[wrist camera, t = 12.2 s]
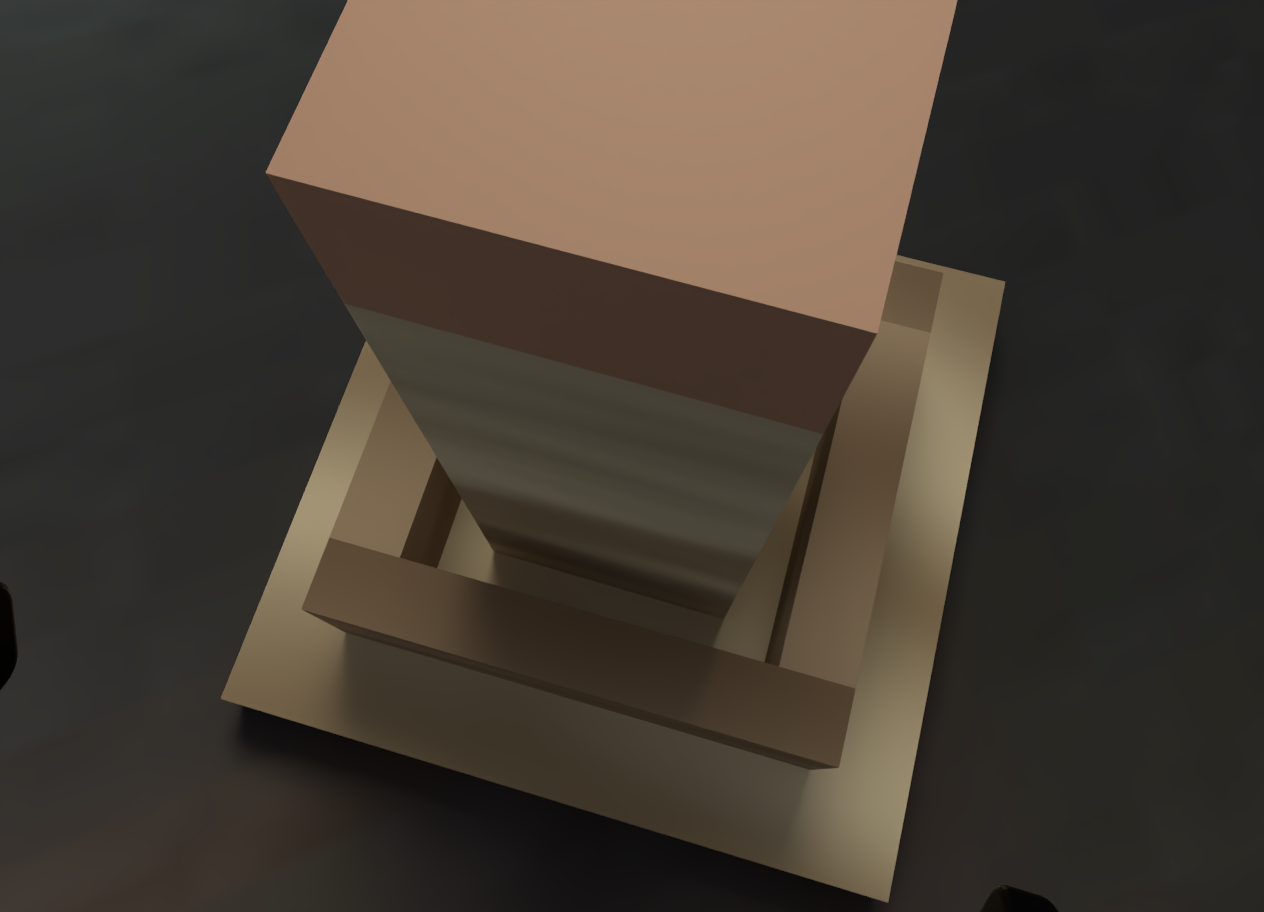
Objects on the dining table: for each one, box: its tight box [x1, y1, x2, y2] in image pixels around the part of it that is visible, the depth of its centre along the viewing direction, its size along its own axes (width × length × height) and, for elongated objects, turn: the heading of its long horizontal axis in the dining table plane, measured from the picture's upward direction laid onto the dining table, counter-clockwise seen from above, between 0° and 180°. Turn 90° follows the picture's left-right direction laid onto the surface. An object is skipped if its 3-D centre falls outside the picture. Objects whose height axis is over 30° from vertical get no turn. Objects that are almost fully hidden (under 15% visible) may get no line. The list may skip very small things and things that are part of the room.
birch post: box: [266, 0, 957, 619], centre depth 13 cm, size 4×4×12 cm
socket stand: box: [221, 255, 1005, 903], centre depth 18 cm, size 12×12×4 cm
